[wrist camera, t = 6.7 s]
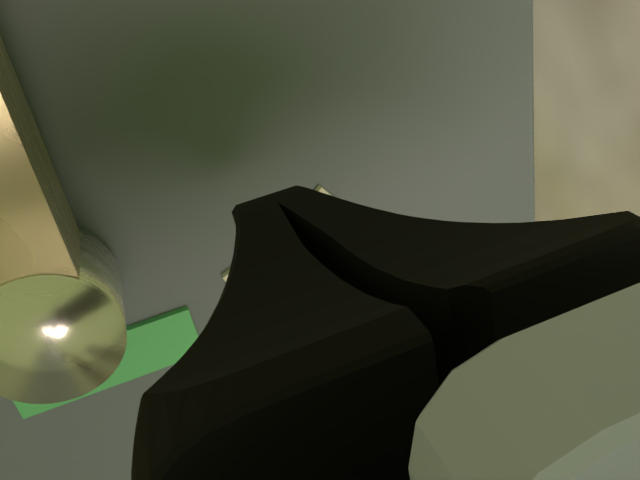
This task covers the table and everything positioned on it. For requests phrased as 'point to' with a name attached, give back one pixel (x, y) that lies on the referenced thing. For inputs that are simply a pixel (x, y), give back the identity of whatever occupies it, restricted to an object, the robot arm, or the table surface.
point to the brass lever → (49, 272)
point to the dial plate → (249, 153)
